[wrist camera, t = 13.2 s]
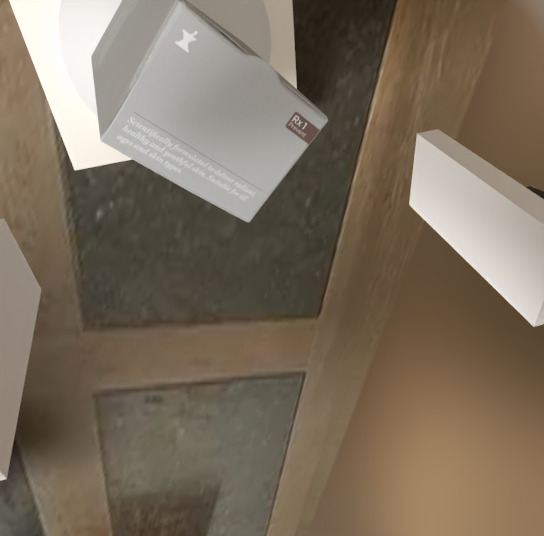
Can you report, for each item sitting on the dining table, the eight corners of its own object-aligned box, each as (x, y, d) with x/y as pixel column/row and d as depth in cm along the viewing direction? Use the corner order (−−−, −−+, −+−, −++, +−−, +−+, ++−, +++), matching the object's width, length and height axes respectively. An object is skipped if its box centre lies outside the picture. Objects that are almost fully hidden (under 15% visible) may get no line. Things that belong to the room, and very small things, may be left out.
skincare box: (89, 55, 31) (75, 151, 18) (146, -47, 28) (173, -16, 16) (197, 126, 35) (242, 240, 23) (254, 43, 33) (338, 121, 21)
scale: (77, 150, 39) (73, 176, 35) (-17, -107, 28) (-38, -110, 25) (285, 111, 42) (302, 131, 38) (267, -135, 31) (289, -142, 27)
